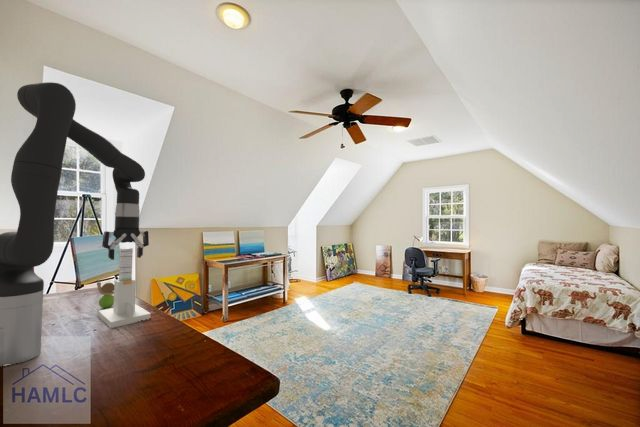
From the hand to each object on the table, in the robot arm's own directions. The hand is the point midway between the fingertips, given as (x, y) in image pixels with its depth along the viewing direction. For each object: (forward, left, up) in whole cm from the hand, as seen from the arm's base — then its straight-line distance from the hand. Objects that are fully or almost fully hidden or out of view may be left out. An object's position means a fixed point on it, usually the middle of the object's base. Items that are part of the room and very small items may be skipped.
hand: (126, 258), depth 102 cm
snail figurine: (+4, +18, -22) cm, 29 cm away
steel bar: (0, 0, -13) cm, 13 cm away
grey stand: (0, 0, -22) cm, 22 cm away
